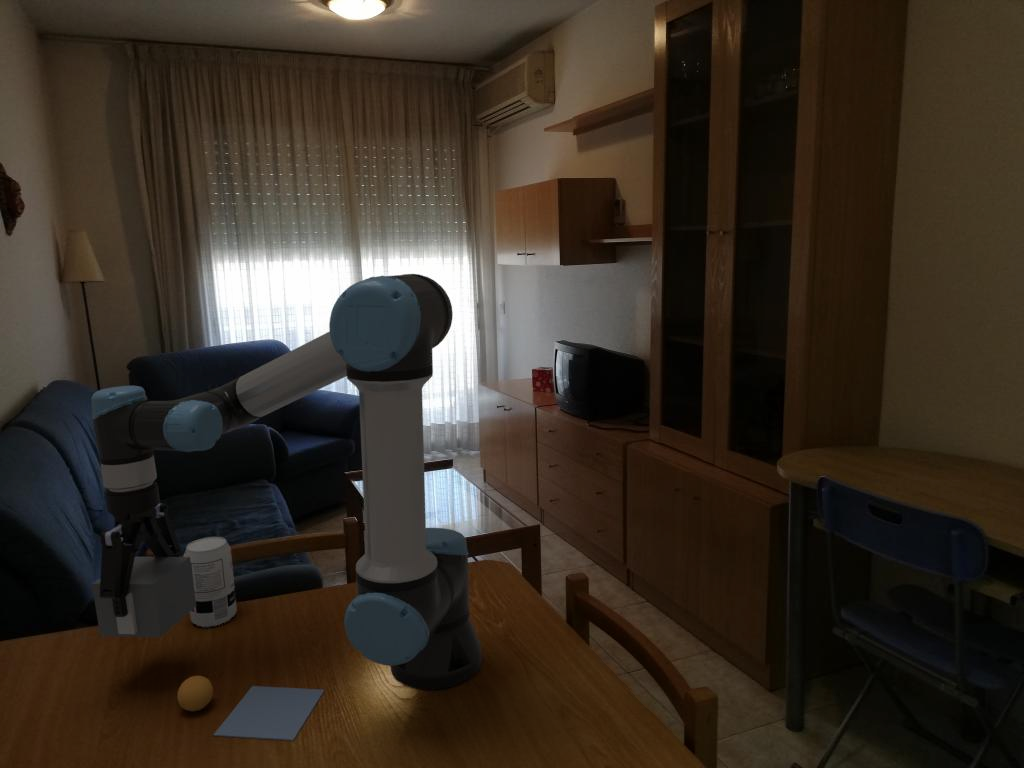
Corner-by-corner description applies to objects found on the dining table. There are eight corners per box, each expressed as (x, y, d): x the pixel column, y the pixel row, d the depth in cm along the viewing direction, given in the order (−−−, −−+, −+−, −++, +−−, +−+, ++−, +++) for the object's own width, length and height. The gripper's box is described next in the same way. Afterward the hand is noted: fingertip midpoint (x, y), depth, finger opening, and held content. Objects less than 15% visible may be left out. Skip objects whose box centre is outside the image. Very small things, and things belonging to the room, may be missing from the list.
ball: (220, 699, 114) (217, 669, 113) (203, 719, 109) (200, 688, 108) (190, 697, 115) (187, 668, 114) (172, 717, 110) (168, 687, 109)
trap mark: (324, 690, 116) (324, 689, 116) (293, 740, 104) (293, 739, 104) (252, 687, 117) (252, 686, 117) (213, 736, 105) (213, 734, 105)
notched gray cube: (196, 606, 123) (189, 556, 122) (160, 637, 114) (153, 584, 112) (140, 605, 125) (133, 556, 123) (100, 636, 115) (91, 583, 113)
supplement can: (181, 624, 138) (172, 548, 135) (215, 604, 145) (208, 533, 142) (212, 632, 134) (204, 555, 132) (246, 612, 142) (239, 539, 139)
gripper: (152, 464, 127) (168, 584, 131) (56, 509, 104) (79, 652, 108) (192, 463, 126) (208, 584, 130) (104, 509, 104) (126, 654, 107)
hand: (149, 615), depth 119 cm, fingers closed on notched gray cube, 10 cm apart
